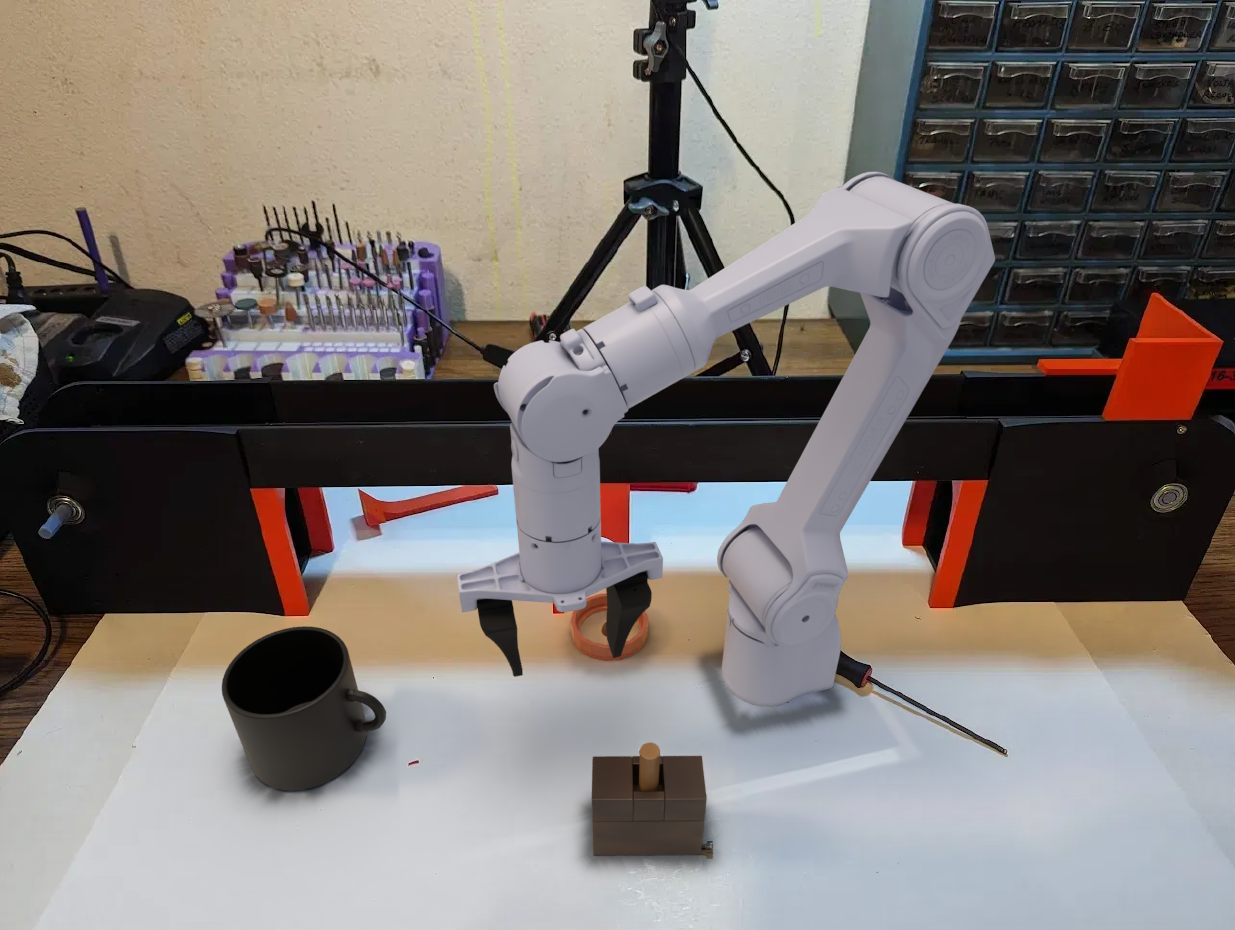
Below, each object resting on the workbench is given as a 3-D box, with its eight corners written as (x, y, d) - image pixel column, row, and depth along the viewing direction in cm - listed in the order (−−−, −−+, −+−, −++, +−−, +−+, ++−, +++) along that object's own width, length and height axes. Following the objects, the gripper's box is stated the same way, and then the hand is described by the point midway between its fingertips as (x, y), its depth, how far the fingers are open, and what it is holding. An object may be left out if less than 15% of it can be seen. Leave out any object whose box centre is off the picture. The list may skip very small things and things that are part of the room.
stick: (655, 790, 59) (657, 741, 56) (659, 808, 58) (661, 758, 55) (637, 793, 59) (638, 743, 56) (640, 810, 58) (641, 760, 55)
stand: (696, 810, 63) (702, 755, 59) (701, 855, 60) (706, 799, 56) (594, 811, 63) (592, 756, 59) (593, 855, 60) (591, 800, 56)
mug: (374, 801, 63) (353, 726, 58) (228, 787, 64) (196, 712, 59) (412, 706, 71) (396, 632, 66) (281, 694, 72) (257, 621, 67)
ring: (635, 609, 81) (636, 587, 80) (656, 662, 75) (657, 639, 74) (565, 622, 80) (564, 599, 78) (581, 677, 74) (580, 654, 72)
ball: (611, 613, 77) (607, 627, 76) (625, 624, 77) (622, 637, 76) (599, 623, 78) (596, 636, 76) (614, 633, 78) (610, 646, 77)
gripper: (455, 571, 50) (476, 716, 57) (678, 535, 53) (671, 678, 60) (446, 506, 56) (467, 645, 63) (649, 476, 59) (645, 613, 66)
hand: (565, 657), depth 62 cm, fingers open, 7 cm apart
